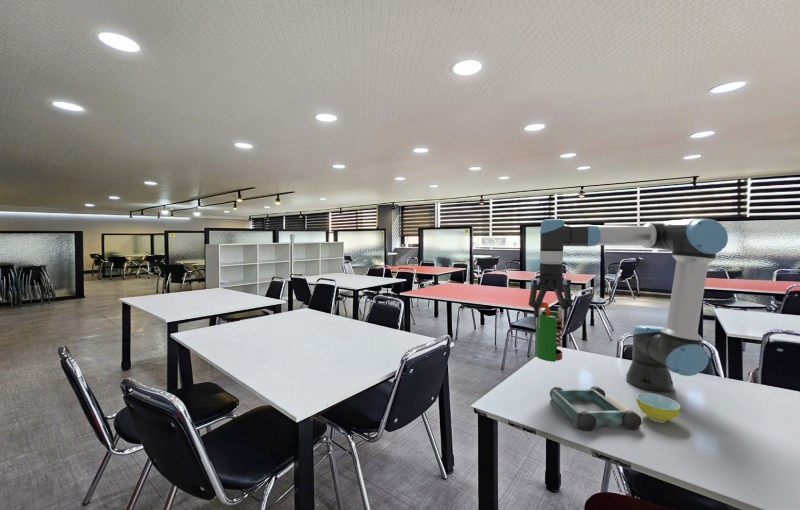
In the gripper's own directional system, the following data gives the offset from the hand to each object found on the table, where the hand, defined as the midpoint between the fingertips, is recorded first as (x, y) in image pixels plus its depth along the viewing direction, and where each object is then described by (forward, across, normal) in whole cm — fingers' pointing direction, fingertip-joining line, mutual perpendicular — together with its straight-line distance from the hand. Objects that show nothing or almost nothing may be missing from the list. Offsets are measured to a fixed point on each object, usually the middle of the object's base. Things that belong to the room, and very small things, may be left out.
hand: (549, 326), depth 124 cm
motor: (+11, 0, 0) cm, 11 cm away
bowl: (+26, -28, +16) cm, 42 cm away
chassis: (+26, -9, +12) cm, 30 cm away
